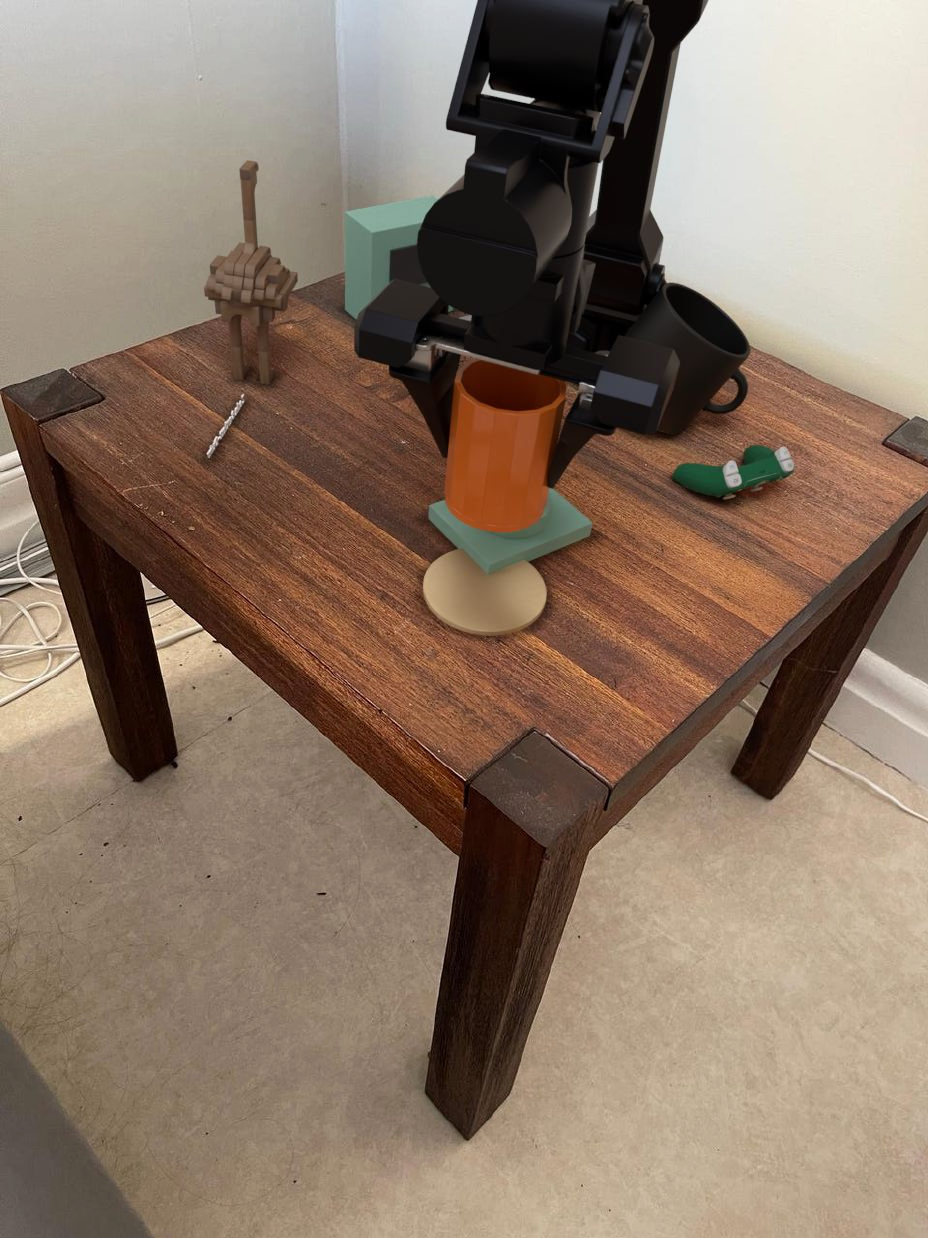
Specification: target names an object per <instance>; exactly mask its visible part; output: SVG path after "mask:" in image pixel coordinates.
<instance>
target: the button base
mask: <svg viewBox="0 0 928 1238" xmlns="http://www.w3.org/2000/svg"><path fill="white" fill-rule="evenodd" d="M427 517H428V520H429V521H430V522H431V523H432V524H433V525H434V526H435V527H436V528H437V529H438V530H439V531H440V532H441V533H442V534H443V535H444V536H445V537H446V538H447V539H448V540H449V541H450V542H451V543H452V545H454V546H455V547H456V549H461V548H463V549H464V550H465V551H466V552H467V553H468V554H469V555H470V556H471V557H472V558H473V559H474V560H475V561H476V562H477V563H478V564H479V565H480V567H481V568H482V569H483V570H484V571H485V572H486V573H487V574H490V573H493V572H495V571H497V570H500V569H502V568H505V567H507V566H509V565H512V564H514V563H517V562H519V561H522V560H526V561H527V562H531V561H533V560H535V559H537V558H540V557H542V556H546V555H548V554H549V553H553V552H555V551H557V550H560V549H562V548H564V547H567V546H569V545H571V544H574V543H576V542H580V540H584V539H586V538H588V537H590V536H591V533H592V529H593V524H594V523H593V521H591V520H590V518H588V517H587V516H586V515H584V513H582V512H581V511H580V510H578V509H577V508H576V507H575V506H574V505H573V504H572V503H571V502H569V501H568V500H567V499H566V497H564V496H563V495H562V494H560V493H559V491H557V490H556V489H554V488H553V489H551V488H549V492H548V497H547V503H546V506H545V510H544V513H543V515H542V516H541V518H540V519H539V520H538V521H537V522H536V523H534V524H533V525H531V526H529V527H527V528H525V529H522V530H518V531H513V532H489V531H484V530H480V529H476V528H474V527H471V526H469V525H467V524H465V523H463V522H462V521H460V520H459V519H457V518H456V517H455V516H454V515H453V514H452V513H451V512H450V510H449V509H448V507H447V505H446V502H445V499H443V500H440V501H437V502H434V503H431V504H429V505H428V516H427Z"/></svg>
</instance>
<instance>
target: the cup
mask: <svg viewBox="0 0 928 1238" xmlns="http://www.w3.org/2000/svg"><path fill="white" fill-rule="evenodd" d="M567 388H568V385H567V383H566V381H563V380H559V379H555V378H551V377H547V376H544V375H540V374H538V375H537V374H532V373H528V372H524V371H521V370H517V369H513V368H509V367H505V366H502V365H498V364H494V363H490V362H487V361H483V360H479V359H475V358H471V359H469V360H467V361H466V362H465V363H464V364H462V365H461V366H460V367H458V370H457V373H456V377H455V381H454V392H453V403H452V414H451V425H450V436H449V447H448V458H446V468H445V470H446V471H445V480H444V481H445V482H444V490H443V491H444V500H445V502H446V505H447V507H448V509H449V510H450V512H451V513H452V514H453V515H454V516H455V517H456V518H457V519H459V520H460V521H462V522H463V523H465V524H467V525H469V526H471V527H474V528H476V529H480V530H484V531H489V532H513V531H518V530H522V529H525V528H527V527H529V526H531V525H533V524H534V523H536V522H537V521H538V520H539V519H540V518H541V516H542V515H543V513H544V510H545V506H546V503H547V497H548V492H549V488H548V487H547V485H548V474H549V470H550V467H551V463H552V460H553V457H554V454H555V450H556V447H557V444H558V440H559V437H560V434H561V428H562V427H561V426H562V422H563V417H564V411H565V405H566V399H567V391H568V389H567Z"/></svg>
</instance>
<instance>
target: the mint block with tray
mask: <svg viewBox="0 0 928 1238" xmlns="http://www.w3.org/2000/svg"><path fill="white" fill-rule="evenodd" d="M438 199H439V198H438V197H436V196H435V195H427V196H421V197H416V198H411V199H405V200H400V201H394V202H390V203H384V204H379V205H373V206H367V207H362V208H358V209H352V210H346V211H344V311H346V312H347V313H348V314H349V315H350V316H351V317H352V318H353V319H354V320H355V321H356V320H357V317H358V314H359V312H360V311H361V310H362V309H363V308H364V307H365V306H366V305H367V304H368V303H369V302H370V301H371V300H372V299H373V298H374V297H375V296H376V295H377V294H378V293H379V292H380V291H381V290H382V289H383V288H384V287H385V286H386V285H387V284H388V283H390V282H391V281H392V280H394V279H398V280H402V281H406V282H410V283H414V284H418V285H422V286H426V287H430V285H429V284H428V282H427V280H426V278H425V276H424V275H423V273H422V270H421V266H420V263H419V260H418V252H417V237H418V231H419V229H420V227H421V225H422V223H423V220H424V218H425V215H426V213H427V212H428V211H429V210H430V208H431V207H432V206H433V204H434V203H435V202H436V201H437V200H438ZM430 288H431V287H430ZM453 311H454V308H453V307H451V306H450V305H449V309H448V313H450V312H453ZM471 316H472V315H469V314H467V315H465V316H460V317H459V318H460V319H464V320H468V321H471Z"/></svg>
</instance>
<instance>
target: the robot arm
mask: <svg viewBox="0 0 928 1238" xmlns="http://www.w3.org/2000/svg"><path fill="white" fill-rule="evenodd" d="M709 1H710V0H477V1H476V4H475V8H474V12H473V17H472V20H471V24H470V28H469V32H468V36H467V38H466V39H467V40H466V44H465V46H464V51H463V55H462V58H461V62H460V66H459V70H458V73H457V76H456V81H455V85H454V89H453V93H452V96H451V100H450V103H449V108H448V111H447V115H446V119H445V128H446V130H447V131H451V132H455V133H459V134H464V135H468V136H473V137H475V138H474V149H473V153H472V154H471V155H470V156H469V157H468V158H467V159H466V162H465V164H464V173H463V175H462V176H460V177H459V178H458V180H457V181H455V183H453V184H452V186H450V187H449V188H448V189H447V190H446V191H445V192H444V193H443V194H442V195H441V196H440V197H439V198H437V199H438V200H437V201H436V202H435V203H434V204H433V206H432V207H431V208H430V210H429V211H428V212H427V213H426V215H425V218H424V220H423V223H422V225H421V227H420V229H419V231H418V237H417V252H418V260H419V263H420V266H421V270H422V273H423V275H424V276H425V278H426V280H427V282H428V284H429V285H430V287H431V288H430V287H426V286H422V285H418V284H414V283H410V282H406V281H402V280H398V279H394V280H392V281H391V282H390V283H388V284H387V285H386V286H385V287H384V288H383V289H382V290H381V291H380V292H379V293H378V294H377V295H376V296H375V297H374V298H373V299H372V300H371V301H370V302H369V303H368V304H367V305H366V306H365V307H364V308H363V309H362V310H361V311H360V312H359V314H358V317H357V320H356V319H355V323H354V326H353V328H354V329H353V331H354V333H353V341H354V343H353V352H354V353H355V354H356V356H357V358H359V359H363V360H365V361H371V362H374V363H377V364H381V365H384V366H388V374H389V376H390V377H391V378H393V379H396V380H398V381H400V382H401V383H402V384H403V386H404V388H405V389H406V390H407V392H408V393H409V395H410V397H411V398H412V400H413V402H414V403H415V405H416V407H417V408H418V410H419V412H420V413H421V415H422V417H423V419H424V421H425V423H426V425H427V428H428V430H429V432H430V434H431V436H432V438H433V440H434V443H435V445H436V447H437V448H438V451H439V453H440V455H441V457H442V458H443V459H447V458H448V447H449V436H450V425H451V414H452V403H453V392H454V381H455V377H456V373H457V370H458V369H459V368H460V367H459V366H460V361H461V357H462V356H464V357H467V358H471V359H479V360H483V361H487V362H490V363H494V364H498V365H502V366H505V367H509V368H513V369H517V370H521V371H524V372H528V373H532V374H537V375H538V374H540V375H544V376H547V377H551V378H555V379H559V380H563V381H565V383H566V382H567V383H570V384H573V385H574V384H575V385H578V390H577V395H576V398H575V399H574V401H573V403H572V405H571V407H570V408H569V411H568V412H567V414H566V416H565V418H564V421H563V425H562V427H561V430H560V433H559V438H558V443H557V447H556V450H555V454H554V457H553V460H552V463H551V467H550V470H549V474H548V485H547V487H548V488H551V489H554V488H556V486H557V484H558V482H559V481H560V479H561V478H562V476H563V475H564V473H565V471H566V470H567V469H568V467H569V465H570V464H571V462H572V460H573V459H574V458H575V456H576V455H577V454H578V453H579V452H580V451H581V450H582V449H583V448H584V446H586V445H587V444H588V442H589V441H590V440H592V439H593V438H594V436H596V435H600V436H604V437H610V436H613V435H614V434H615V433H616V431H617V429H620V430H624V431H628V432H633V433H636V434H639V435H643V436H647V435H651V434H656V433H657V431H658V430H657V429H658V426H659V424H660V421H661V419H662V416H663V414H664V411H665V409H666V406H667V404H668V401H669V399H670V396H671V394H672V391H673V388H674V384H675V381H676V377H677V373H678V370H679V366H680V361H679V359H678V357H677V355H676V353H675V351H674V349H671V348H667V347H663V346H659V345H655V344H651V343H647V342H643V341H639V340H635V339H631V338H627V337H624V336H625V335H626V333H627V332H628V331H629V329H630V328H631V327H632V325H633V324H634V323H635V322H636V320H637V319H638V318H639V316H640V315H641V314H642V312H643V311H644V310H645V308H646V307H647V306H648V304H649V303H650V302H651V301H652V299H653V298H654V297H655V295H656V294H657V293H658V291H659V290H660V289H661V287H662V286H663V285H664V284H666V283H668V282H667V281H666V265H665V264H661V263H660V261H661V256H662V251H663V250H662V249H663V244H664V235H663V233H662V230H661V229H660V227H659V225H658V222H657V220H656V218H655V216H654V214H653V213H652V210H651V207H652V202H653V197H654V191H655V185H656V180H657V174H658V170H659V165H660V164H659V163H660V159H661V152H662V148H663V142H664V136H665V132H666V125H667V120H668V115H669V110H670V105H671V104H670V103H671V99H672V94H673V88H674V83H675V76H676V71H677V66H678V60H679V54H680V49H681V45H682V44H681V43H682V42H683V41H684V40H685V38H686V37H687V36H688V35H689V34H690V33H691V32H692V31H693V29H694V28H695V27H696V26H697V25H698V23H699V22H700V19H701V17H702V16H703V14H704V11H705V9H706V7H707V5H708V3H709ZM486 82H487V84H488V86H489V88H490V90H491V91H496V92H501V93H506V94H510V95H513V96H518V97H519V96H520V97H525V98H530V99H533V100H532V101H531V102H523V101H519V100H513V99H509V98H506V97H505V98H504V97H499V96H496V95H490V94H486V93H482V92H483V89H484V87H485V85H486ZM601 163H602V165H601V170H600V171H601V173H600V181H599V188H598V196H597V201H596V209H595V210H594V212H592V213H591V209H592V203H593V198H594V191H595V187H596V181H597V175H598V169H599V164H601ZM449 305H450V306H451V307H453V309H455V310H457V311H459V312H462V313H463V314H465V315H472V316H471V321H468V320H464V319H460V317H456V316H452V315H449V312H448V309H449Z"/></svg>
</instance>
